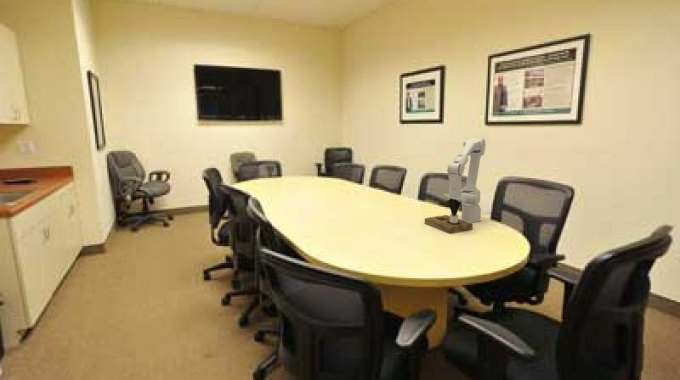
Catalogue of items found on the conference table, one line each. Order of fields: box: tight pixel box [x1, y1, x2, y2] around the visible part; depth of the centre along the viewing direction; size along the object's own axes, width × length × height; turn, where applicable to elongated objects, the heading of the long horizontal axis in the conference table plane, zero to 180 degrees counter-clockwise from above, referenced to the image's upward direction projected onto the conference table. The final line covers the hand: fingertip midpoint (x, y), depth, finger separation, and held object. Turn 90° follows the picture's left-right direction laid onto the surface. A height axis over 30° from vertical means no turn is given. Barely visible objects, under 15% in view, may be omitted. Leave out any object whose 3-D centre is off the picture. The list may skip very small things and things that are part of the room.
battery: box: [449, 214, 459, 225], centre depth 187 cm, size 4×4×7 cm
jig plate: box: [424, 214, 474, 235], centre depth 191 cm, size 14×20×3 cm
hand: (454, 214), depth 186 cm, fingers closed
